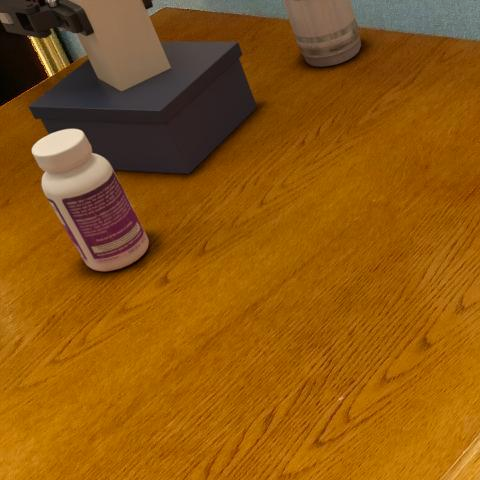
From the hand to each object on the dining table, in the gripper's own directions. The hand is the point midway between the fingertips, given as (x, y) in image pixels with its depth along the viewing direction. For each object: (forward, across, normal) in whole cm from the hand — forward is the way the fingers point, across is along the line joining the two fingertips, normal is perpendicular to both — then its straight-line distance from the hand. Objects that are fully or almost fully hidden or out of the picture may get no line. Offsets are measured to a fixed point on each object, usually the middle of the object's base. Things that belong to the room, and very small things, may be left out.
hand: (115, 8), depth 83 cm
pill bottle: (+13, -12, +12) cm, 22 cm away
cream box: (-3, 0, +6) cm, 7 cm away
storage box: (-3, 0, +12) cm, 12 cm away
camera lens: (-2, +19, +12) cm, 23 cm away
